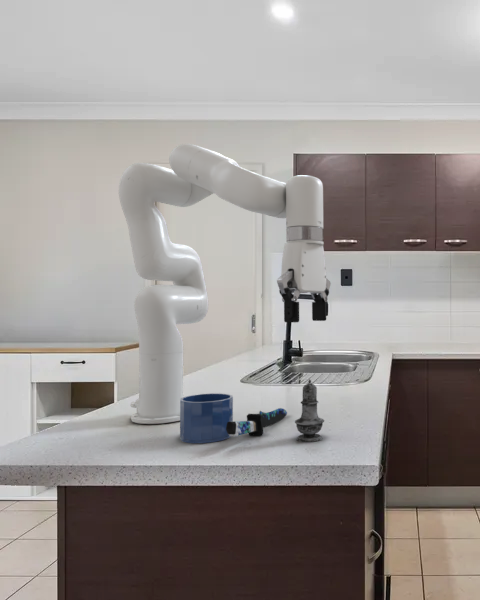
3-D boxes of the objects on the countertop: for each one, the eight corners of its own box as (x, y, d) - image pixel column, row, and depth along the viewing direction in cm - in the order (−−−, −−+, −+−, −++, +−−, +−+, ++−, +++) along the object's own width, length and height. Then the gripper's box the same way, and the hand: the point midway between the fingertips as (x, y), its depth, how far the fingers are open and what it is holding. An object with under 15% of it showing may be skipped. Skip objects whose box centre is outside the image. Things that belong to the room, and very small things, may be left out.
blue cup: (169, 440, 103) (169, 399, 103) (206, 428, 112) (206, 392, 112) (207, 445, 99) (207, 404, 99) (242, 433, 108) (242, 395, 108)
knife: (231, 445, 94) (233, 420, 95) (216, 444, 95) (218, 419, 95) (296, 425, 124) (297, 406, 125) (284, 424, 125) (286, 405, 125)
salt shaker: (329, 436, 106) (329, 377, 106) (315, 443, 101) (315, 382, 101) (303, 433, 108) (304, 376, 108) (289, 440, 103) (289, 380, 103)
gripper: (313, 243, 115) (314, 320, 115) (262, 234, 99) (263, 323, 99) (342, 241, 112) (343, 320, 112) (295, 231, 96) (296, 323, 96)
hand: (306, 321), depth 105 cm, fingers open, 9 cm apart
